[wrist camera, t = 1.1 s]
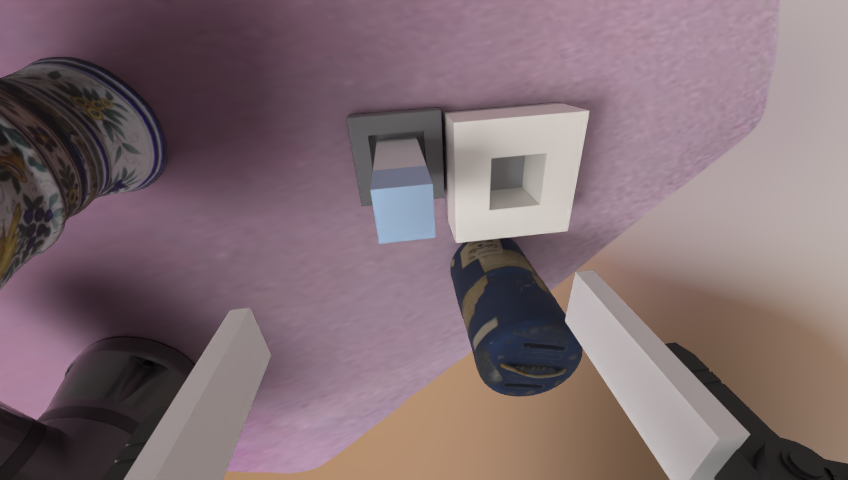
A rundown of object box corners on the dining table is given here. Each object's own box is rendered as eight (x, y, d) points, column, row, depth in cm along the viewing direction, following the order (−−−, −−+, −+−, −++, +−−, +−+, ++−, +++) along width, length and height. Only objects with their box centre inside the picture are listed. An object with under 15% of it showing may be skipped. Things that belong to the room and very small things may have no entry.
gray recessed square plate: (363, 199, 36) (361, 206, 34) (348, 114, 32) (346, 118, 30) (441, 191, 37) (444, 197, 35) (438, 107, 32) (441, 110, 30)
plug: (382, 178, 34) (379, 243, 22) (376, 140, 32) (370, 189, 20) (418, 174, 35) (435, 237, 22) (416, 136, 33) (432, 183, 20)
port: (446, 218, 38) (456, 243, 33) (443, 112, 32) (453, 122, 27) (543, 208, 39) (567, 231, 34) (558, 102, 33) (589, 110, 28)
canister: (494, 297, 45) (549, 421, 30) (435, 276, 43) (462, 402, 27) (533, 243, 42) (619, 355, 26) (471, 217, 39) (526, 324, 23)
